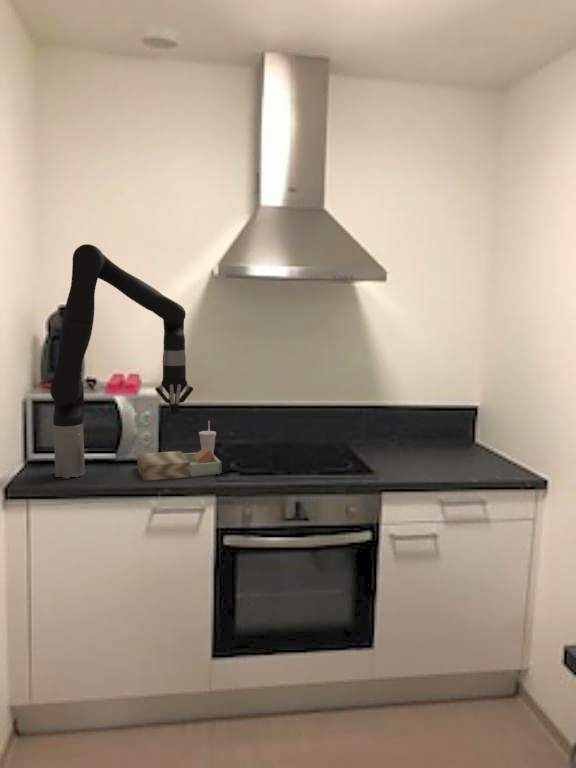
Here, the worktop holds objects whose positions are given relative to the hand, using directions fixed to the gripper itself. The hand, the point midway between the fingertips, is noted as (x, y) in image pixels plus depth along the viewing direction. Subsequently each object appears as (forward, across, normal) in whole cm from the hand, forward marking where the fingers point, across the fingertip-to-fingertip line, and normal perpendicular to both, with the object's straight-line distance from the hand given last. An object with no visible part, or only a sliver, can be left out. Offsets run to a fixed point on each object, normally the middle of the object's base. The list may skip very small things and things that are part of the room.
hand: (174, 414), depth 218 cm
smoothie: (+19, +14, +13) cm, 27 cm away
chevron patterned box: (+19, -4, -1) cm, 20 cm away
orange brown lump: (+14, +9, +1) cm, 17 cm away
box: (+19, +9, -1) cm, 21 cm away
